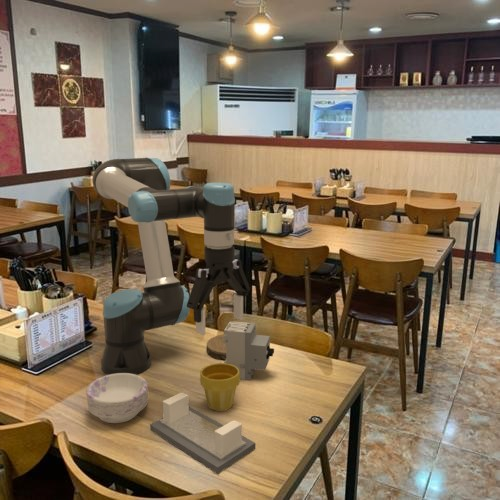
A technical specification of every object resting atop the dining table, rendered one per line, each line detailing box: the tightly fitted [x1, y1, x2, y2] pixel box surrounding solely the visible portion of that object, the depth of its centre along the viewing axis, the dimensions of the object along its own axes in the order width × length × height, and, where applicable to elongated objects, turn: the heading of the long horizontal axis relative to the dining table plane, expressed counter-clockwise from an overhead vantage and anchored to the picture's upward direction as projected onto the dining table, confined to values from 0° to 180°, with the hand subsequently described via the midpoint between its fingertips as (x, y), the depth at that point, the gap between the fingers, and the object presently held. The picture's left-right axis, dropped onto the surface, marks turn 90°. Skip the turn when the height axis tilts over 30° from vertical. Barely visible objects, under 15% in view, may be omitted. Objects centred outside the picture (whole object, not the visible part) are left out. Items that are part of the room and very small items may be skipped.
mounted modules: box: [162, 392, 243, 455], centre depth 121 cm, size 21×6×5 cm, turn 47°
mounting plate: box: [149, 406, 256, 474], centre depth 122 cm, size 24×12×2 cm, turn 47°
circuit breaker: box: [223, 321, 275, 381], centre depth 152 cm, size 8×14×15 cm, turn 78°
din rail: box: [158, 411, 246, 461], centre depth 122 cm, size 22×8×1 cm, turn 47°
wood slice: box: [206, 333, 226, 362], centre depth 170 cm, size 16×16×3 cm
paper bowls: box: [86, 373, 149, 424], centre depth 132 cm, size 15×15×8 cm
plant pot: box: [199, 362, 241, 412], centre depth 136 cm, size 10×10×10 cm
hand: (220, 325), depth 132 cm, fingers open, 13 cm apart
